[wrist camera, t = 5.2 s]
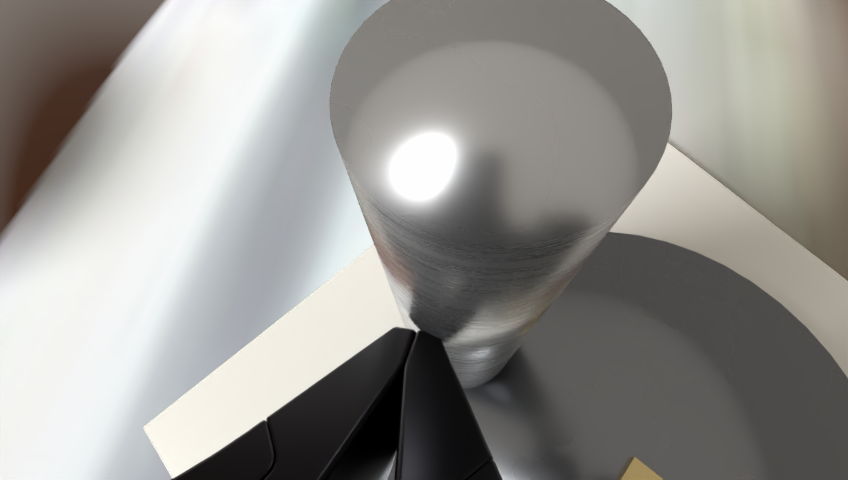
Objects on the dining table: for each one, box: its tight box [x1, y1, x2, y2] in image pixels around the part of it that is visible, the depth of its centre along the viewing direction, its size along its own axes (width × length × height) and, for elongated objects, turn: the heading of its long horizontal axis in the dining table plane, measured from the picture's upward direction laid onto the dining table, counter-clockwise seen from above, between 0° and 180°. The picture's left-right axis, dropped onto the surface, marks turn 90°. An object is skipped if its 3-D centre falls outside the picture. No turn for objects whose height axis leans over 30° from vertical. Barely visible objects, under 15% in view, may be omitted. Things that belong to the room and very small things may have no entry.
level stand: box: [143, 142, 848, 479], centre depth 13 cm, size 22×22×5 cm
